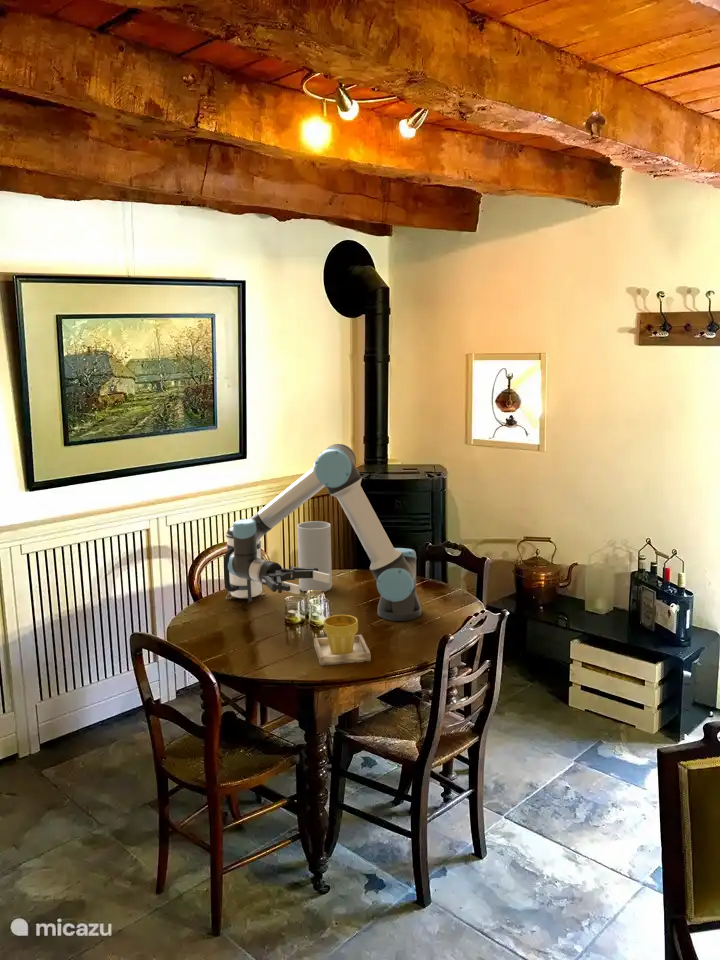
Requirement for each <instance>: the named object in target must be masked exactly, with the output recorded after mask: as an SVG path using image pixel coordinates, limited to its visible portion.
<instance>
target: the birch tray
mask: <svg viewBox="0 0 720 960" xmlns="http://www.w3.org/2000/svg"><path fill="white" fill-rule="evenodd" d="M313 647H314V650H315V653H316V656H317V659H318V662H319V666H330V665H341V664H354V663H355V662H356V663H364V661H367V662H371V657H372V656H371V655H372V654H371V651H370V649H369V647H368V645H367V644H366V641H365V639H364V637H363V634H356V635H355V640H354V645H353V650H352V652H351V653H349V654H340V655H336V654H333V653H332V652H331V650H330V646H329V642H328V638H327V637H326V636H325V637H316V638H315V637H314V638H313Z"/></svg>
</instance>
